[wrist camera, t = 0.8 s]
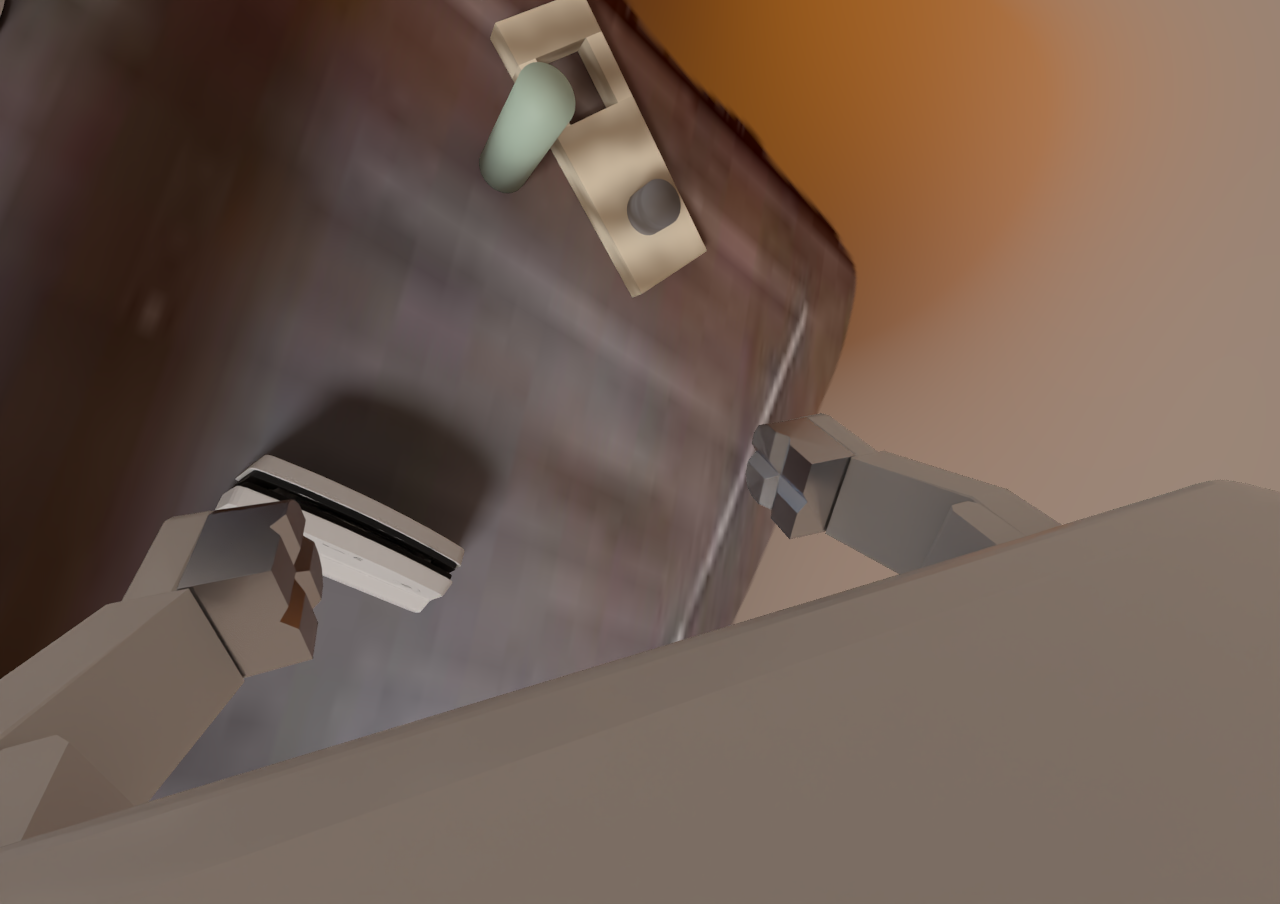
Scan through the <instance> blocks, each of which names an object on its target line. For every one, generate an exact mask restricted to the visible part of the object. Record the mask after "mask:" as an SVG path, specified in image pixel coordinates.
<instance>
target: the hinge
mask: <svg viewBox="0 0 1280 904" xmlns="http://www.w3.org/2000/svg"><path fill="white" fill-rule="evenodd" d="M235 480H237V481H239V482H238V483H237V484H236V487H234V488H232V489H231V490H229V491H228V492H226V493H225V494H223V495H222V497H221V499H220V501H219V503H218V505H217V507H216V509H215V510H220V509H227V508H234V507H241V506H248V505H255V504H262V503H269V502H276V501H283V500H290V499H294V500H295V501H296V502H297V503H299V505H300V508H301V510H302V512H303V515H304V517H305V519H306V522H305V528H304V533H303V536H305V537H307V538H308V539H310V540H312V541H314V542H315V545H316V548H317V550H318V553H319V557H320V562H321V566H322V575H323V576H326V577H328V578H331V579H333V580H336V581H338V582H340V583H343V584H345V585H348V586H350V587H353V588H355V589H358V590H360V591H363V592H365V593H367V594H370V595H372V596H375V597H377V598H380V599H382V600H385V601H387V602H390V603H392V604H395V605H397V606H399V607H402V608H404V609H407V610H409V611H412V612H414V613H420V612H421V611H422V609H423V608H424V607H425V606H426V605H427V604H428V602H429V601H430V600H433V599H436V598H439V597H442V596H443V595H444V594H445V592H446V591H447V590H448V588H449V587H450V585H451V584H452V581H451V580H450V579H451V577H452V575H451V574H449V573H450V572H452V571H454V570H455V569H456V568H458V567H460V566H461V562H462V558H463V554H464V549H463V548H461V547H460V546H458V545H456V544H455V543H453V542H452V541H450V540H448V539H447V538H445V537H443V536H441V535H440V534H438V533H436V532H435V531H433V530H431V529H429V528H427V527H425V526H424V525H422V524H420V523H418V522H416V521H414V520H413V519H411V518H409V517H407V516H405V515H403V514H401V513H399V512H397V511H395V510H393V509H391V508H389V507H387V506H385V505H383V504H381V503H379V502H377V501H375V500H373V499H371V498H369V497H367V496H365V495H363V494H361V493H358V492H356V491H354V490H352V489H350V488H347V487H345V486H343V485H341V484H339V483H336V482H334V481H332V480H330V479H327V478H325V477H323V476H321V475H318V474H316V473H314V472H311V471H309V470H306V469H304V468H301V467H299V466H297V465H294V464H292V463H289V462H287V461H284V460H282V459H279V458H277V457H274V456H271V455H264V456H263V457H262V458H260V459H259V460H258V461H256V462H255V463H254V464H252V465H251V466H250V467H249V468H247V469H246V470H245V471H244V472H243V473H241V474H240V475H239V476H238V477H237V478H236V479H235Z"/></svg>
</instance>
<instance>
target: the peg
mask: <svg viewBox="0 0 1280 904" xmlns="http://www.w3.org/2000/svg"><path fill="white" fill-rule="evenodd" d="M574 112H575V96H574V92H573V89H572V87H571V85H570V83H569V81H568V80H567V78H566V77H565V76H564V75H563V74H562V73H561V72H560V71H559V70H558V69H557V68H555V67H553V66H552V65H549V64H547V63H543V62H533V63H530V64H528V65H526V66H525V67H524V68H523V69H522V70H521V72H520V74H519V76H518V78H517V80H516V82H515V84H514V86H513V88H512V90H511V92H510V94H509V97H508V99H507V101H506V103H505V105H504V107H503V109H502V111H501V113H500V115H499V117H498V120H497V122H496V124H495V126H494V128H493V130H492V132H491V134H490V136H489V138H488V140H487V143H486V145H485V147H484V149H483V151H482V153H481V155H480V159H479V166H480V171H481V174H482V176H483V178H484V179H485V181H486V182H487V183H488V184H489V185H490V186H491V187H492V188H494V189H495V190H497V191H499V192H503V193H513V192H515V191H517V190H519V189H520V188H521V187H522V186H523V184H524V183H525V182H526V180H527V179H528V178H529V176H530V175H531V173H532V172H533V171H534V169H535V168H536V167H537V165H538V164H539V163H540V161H541V160H542V158H543V157H544V156H545V154H546V153H547V152H548V150H549V149H550V148H551V146H552V145H553V143H554V142H555V141H556V139H557V138H558V137H559V135H560V134H561V133H562V131H563V130H564V129H565V127H566V126H567V124H568V123H569V122H570V120H571V119H572V117H573V115H574Z"/></svg>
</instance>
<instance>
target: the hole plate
mask: <svg viewBox="0 0 1280 904" xmlns="http://www.w3.org/2000/svg"><path fill="white" fill-rule="evenodd" d="M490 39H491V41H492V43H493V45H494V46H495V48H496V50H497V52H498V54H499V56H500V57H501V59H502V61H503V63H504V65H505V67H506V68H507V70H508V72H509V74H510V76H511V77H512V79H513V81H514V83H515V82H516V80H517V78H518V76H519V74H520V72H521V70H522V69H523V68H524V67H525V66H526V65H528V64H530V63H533V62H543V63H547V64H549V63H551V62H553V61H556V60H558V59H561V58H563V57H565V56H568V55H570V54H572V53H575V52H577V51H578V53H579V55H580V57H581V59H582V61H583V63H584V65H585V67H586V69H587V71H588V73H589V75H590V77H591V79H592V81H593V83H594V85H595V87H596V89H597V91H598V93H599V95H600V97H601V99H602V101H603V103H604V105H605V107H606V108H605V109H603V110H601V111H599V112H597V113H595V114H593V115H591V116H589V117H587V118H585V119H583V120H581V121H578V122H576V123H574V124H572V125H570V123H568V124H567V126H566V127H565V129H564V130H563V131H562V133H561V134H560V135H559V137H558V138H557V139H556V141H555V142H554V143H553V145H552V146H551V150H552V152H553V154H554V156H555V158H556V159H557V161H558V163H559V165H560V167H561V168H562V170H563V172H564V174H565V176H566V178H567V179H568V181H569V183H570V185H571V187H572V189H573V190H574V192H575V194H576V196H577V198H578V199H579V201H580V203H581V205H582V207H583V209H584V210H585V212H586V214H587V216H588V218H589V219H590V221H591V223H592V225H593V227H594V229H595V230H596V232H597V234H598V236H599V238H600V239H601V241H602V243H603V245H604V247H605V249H606V250H607V252H608V254H609V256H610V258H611V260H612V261H613V263H614V265H615V267H616V269H617V270H618V272H619V274H620V276H621V278H622V280H623V281H624V283H625V285H626V287H627V289H628V290H629V292H630V294H631V296H632V298H633V297H635V296H638V295H640V294H642V293H644V292H645V291H647V290H648V289H650V288H651V287H653V286H655V285H656V284H658V283H659V282H661V281H662V280H664V279H665V278H667V277H668V276H670V275H671V274H673V273H674V272H676V271H677V270H679V269H680V268H682V267H683V266H685V265H686V264H688V263H689V262H691V261H692V260H694V259H695V258H697V257H698V256H700V255H701V254H703V253H704V252H706V251H707V250H706V248H705V246H704V244H703V242H702V240H701V237H700V235H699V233H698V231H697V229H696V227H695V225H694V223H693V221H692V219H691V217H690V215H689V213H688V210H687V208H686V206H685V204H684V202H683V200H682V198H681V196H680V194H679V192H678V190H677V188H676V185H675V183H674V181H673V179H672V177H671V175H670V173H669V171H668V169H667V167H666V165H665V163H664V161H663V158H662V156H661V154H660V152H659V150H658V148H657V146H656V144H655V142H654V140H653V138H652V136H651V133H650V131H649V129H648V127H647V125H646V123H645V121H644V119H643V117H642V115H641V113H640V111H639V109H638V106H637V104H636V102H635V100H634V98H633V96H632V94H631V92H630V90H629V88H628V86H627V84H626V81H625V79H624V77H623V75H622V73H621V71H620V69H619V67H618V65H617V63H616V61H615V59H614V56H613V54H612V52H611V50H610V48H609V46H608V44H607V42H606V40H605V38H604V36H603V34H602V32H601V29H600V27H599V25H598V23H597V21H596V19H595V17H594V15H593V13H592V11H591V9H590V7H589V4H588V2H587V0H556V1H553V2H550V3H548V4H545V5H542V6H539V7H537V8H534V9H531V10H529V11H526V12H523V13H521V14H518V15H515V16H513V17H510V18H507V19H504V20H502V21H499V22H496V23H495V26H494V28H493V31H492V34H491V37H490Z"/></svg>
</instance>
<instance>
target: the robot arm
mask: <svg viewBox="0 0 1280 904" xmlns="http://www.w3.org/2000/svg"><path fill="white" fill-rule="evenodd" d="M4 1H5V0H0V16H1V13H2V10H3V6H4ZM752 444H753V446H754V448H755V450H756V452H755V453H754V454H753V456H752V457H751V458H750V459H749V461H748V464H747V470H746V480H747V486H748V489H749V491H750V493H751V495H752V497H753V498H754V499H755V500H756V501H757V503H758V504H760V505H762V506H764V507H766V508H769V509H771V519H772V520H773V521H774V522H775V523H776V524H777V525H778V527H779V528H780V529H781V530H782V531H783V532H784V533H785V534H786V536H787V537H788V538H789V539H793V538H798V537H802V536H807V535H812V534H816V533H821V532H825V531H826V534H827V535H829V536H831V537H833V538H835V539H836V540H838V541H840V542H842V543H844V544H845V545H848V546H849V547H851V548H853V549H855V550H856V551H858V552H860V553H862V554H864V555H865V556H867V557H869V558H871V559H873V560H875V561H876V562H878V563H880V564H882V565H884V566H885V567H887V568H889V569H891V570H893V571H894V572H897V573H898V574H899V575H896V576H892V577H889V578H886V579H883V580H880V581H876V582H873V583H870V584H867V585H863V586H860V587H856V588H853V589H850V590H846V591H843V592H840V593H837V594H833V595H830V596H827V597H823V598H820V599H816V600H813V601H810V602H807V603H803V604H801V605H797V606H793V607H790V608H787V609H783V610H780V611H777V612H774V613H770V614H767V615H764V616H760V617H757V618H754V619H750V620H747V621H744V622H740V623H737V624H734V625H731V626H727V627H724V628H721V629H717V630H714V631H711V632H707V633H704V634H701V635H698V636H694V637H691V638H688V639H684V640H681V641H678V642H674V643H671V644H668V645H665V646H661V647H658V648H655V649H651V650H648V651H645V652H642V653H638V654H635V655H632V656H628V657H625V658H622V659H618V660H615V661H612V662H609V663H605V664H602V665H599V666H595V667H592V668H589V669H585V670H582V671H579V672H576V673H572V674H569V675H566V676H562V677H559V678H556V679H552V680H549V681H546V682H543V683H539V684H536V685H533V686H529V687H526V688H523V689H520V690H516V691H513V692H510V693H506V694H503V695H500V696H496V697H493V698H490V699H487V700H483V701H480V702H477V703H473V704H470V705H467V706H463V707H460V708H457V709H454V710H450V711H447V712H444V713H440V714H437V715H434V716H430V717H427V718H424V719H421V720H417V721H414V722H411V723H407V724H404V725H401V726H397V727H394V728H391V729H388V730H384V731H381V732H378V733H374V734H371V735H368V736H364V737H361V738H358V739H355V740H351V741H348V742H345V743H341V744H338V745H335V746H332V747H328V748H325V749H322V750H318V751H315V752H312V753H308V754H305V755H302V756H299V757H295V758H292V759H289V760H285V761H282V762H279V763H275V764H272V765H269V766H266V767H262V768H259V769H256V770H252V771H249V772H246V773H242V774H239V775H236V776H233V777H229V778H226V779H223V780H219V781H216V782H213V783H209V784H206V785H203V786H200V787H196V788H193V789H190V790H186V791H183V792H180V793H177V794H173V795H170V796H167V797H163V798H160V799H157V800H153V801H150V802H148V801H149V800H150V799H151V798H152V796H153V795H154V794H155V793H156V791H157V790H158V789H159V788H160V786H161V785H162V784H163V783H164V781H165V780H166V779H167V778H168V776H169V775H170V774H171V773H172V771H173V770H174V769H175V768H176V766H177V765H178V764H179V763H180V761H181V760H182V759H183V758H184V756H185V755H186V754H187V753H188V751H189V750H190V749H191V748H192V746H193V745H194V744H195V743H196V741H197V740H198V739H199V738H200V736H201V735H202V734H203V733H204V731H205V730H206V729H207V728H208V726H209V725H210V724H211V723H212V721H213V720H214V719H215V718H216V716H217V715H218V714H219V713H220V711H221V710H222V709H223V708H224V706H225V705H226V704H227V703H228V701H229V700H230V699H231V698H232V696H233V695H234V694H235V693H236V691H237V690H238V689H239V688H240V686H241V685H242V684H243V683H244V679H243V678H246V677H249V676H253V675H257V674H260V673H264V672H267V671H271V670H275V669H278V668H282V667H286V666H289V665H293V664H297V663H300V662H304V661H307V660H311V659H313V654H314V647H315V640H316V634H317V627H318V621H317V619H316V617H315V614H314V612H313V608H314V607H315V606H316V605H317V604H318V603H319V602H320V601H321V598H322V590H323V577H322V566H321V562H320V557H319V553H318V550H317V548H316V545H315V542H314V541H312V540H310V539H308V538H307V537H305V536H303V533H304V528H305V522H306V519H305V517H304V515H303V512H302V510H301V508H300V505H299V503H297V502H296V501H295V500H294V499H290V500H283V501H276V502H269V503H262V504H255V505H248V506H241V507H234V508H227V509H220V510H215V511H206V512H200V513H194V514H187V515H181V516H175V517H172V518H170V519H168V520H166V521H165V522H164V523H163V525H162V527H161V529H160V530H159V532H158V534H157V536H156V538H155V540H154V542H153V544H152V545H151V547H150V549H149V551H148V553H147V555H146V557H145V558H144V560H143V562H142V564H141V566H140V568H139V570H138V572H137V573H136V575H135V577H134V579H133V581H132V583H131V585H130V587H129V588H128V590H127V592H126V594H125V596H124V598H123V600H122V601H121V602H117V603H112V604H107V605H105V606H104V607H103V608H101V609H100V610H98V611H97V612H95V613H94V614H93V615H91V616H90V617H88V618H87V619H86V620H84V621H83V622H81V623H80V624H78V625H77V626H76V627H74V628H73V629H71V630H70V631H68V632H67V633H66V634H64V635H63V636H61V637H60V638H59V639H57V640H56V641H54V642H53V643H51V644H50V645H49V646H47V647H46V648H44V649H43V650H41V651H40V652H39V653H37V654H36V655H34V656H33V657H32V658H30V659H29V660H27V661H26V662H24V663H23V664H22V665H20V666H19V667H17V668H16V669H15V670H13V671H12V672H10V673H9V674H7V675H6V676H5V677H3V678H2V679H0V904H1280V492H1278V491H1274V490H1270V489H1266V488H1261V487H1257V486H1254V485H1250V484H1246V483H1240V482H1235V481H1229V480H1214V481H1207V482H1203V483H1198V484H1195V485H1192V486H1188V487H1185V488H1182V489H1179V490H1176V491H1173V492H1170V493H1166V494H1163V495H1160V496H1156V497H1153V498H1150V499H1146V500H1143V501H1140V502H1137V503H1133V504H1130V505H1127V506H1123V507H1120V508H1117V509H1113V510H1110V511H1107V512H1104V513H1101V514H1097V515H1094V516H1091V517H1087V518H1084V519H1081V520H1077V521H1074V522H1071V523H1067V524H1064V525H1061V524H1060V523H1058V522H1057V521H1055V520H1054V519H1052V518H1051V517H1049V516H1048V515H1046V514H1045V513H1043V512H1042V511H1040V510H1038V509H1037V508H1035V507H1034V506H1032V505H1031V504H1029V503H1027V502H1026V501H1025V500H1023V499H1021V498H1020V497H1019V496H1017V495H1016V494H1014V493H1013V492H1011V491H1009V490H1008V489H1005V488H1002V487H998V486H995V485H992V484H989V483H986V482H982V481H979V480H976V479H973V478H969V477H966V476H963V475H960V474H957V473H953V472H950V471H947V470H944V469H941V468H937V467H934V466H931V465H928V464H925V463H922V462H918V461H915V460H912V459H908V458H906V457H902V456H899V455H896V454H893V453H889V452H886V451H880V452H878V451H876V450H875V449H874V448H872V447H871V446H870V445H868V444H867V443H866V442H864V441H863V440H862V439H860V438H859V437H858V436H856V435H855V434H854V433H852V432H851V431H850V430H848V429H846V428H845V427H844V426H843V425H841V424H840V423H839V422H837V421H836V420H835V419H833V418H832V417H831V416H829V415H826V414H822V413H820V414H815V415H810V416H805V417H801V418H798V419H792V420H786V421H780V422H775V423H769V424H763V425H759V426H758V427H757V429H756V430H755V432H754V436H753V440H752Z"/></svg>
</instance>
